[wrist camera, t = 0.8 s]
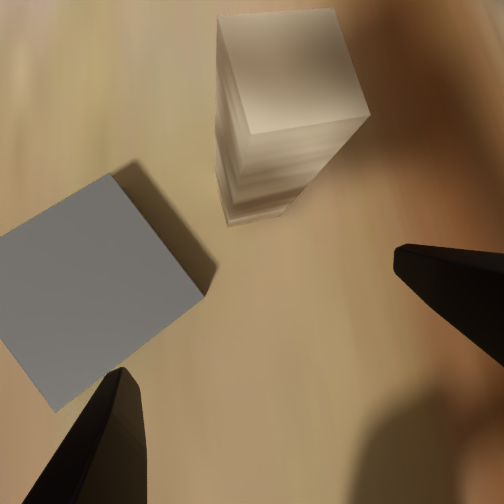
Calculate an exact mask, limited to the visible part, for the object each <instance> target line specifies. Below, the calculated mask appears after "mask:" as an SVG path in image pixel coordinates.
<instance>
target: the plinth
mask: <svg viewBox="0 0 504 504" xmlns="http://www.w3.org/2000/svg"><path fill="white" fill-rule="evenodd" d="M204 297H205V295H204V294H203V293H202V291H201V290H200V289H199V287H198V286H197V285H196V284H195V282H194V281H193V280H192V278H191V277H190V276H189V274H188V273H187V272H186V270H185V269H184V268H183V267H182V265H181V264H180V263H179V261H178V260H177V259H176V257H175V256H174V255H173V254H172V252H171V251H170V250H169V248H168V247H167V246H166V244H165V243H164V242H163V240H162V239H161V238H160V237H159V235H158V234H157V233H156V231H155V230H154V229H153V227H152V226H151V225H150V224H149V222H148V221H147V220H146V218H145V217H144V216H143V214H142V213H141V212H140V210H139V209H138V208H137V207H136V205H135V204H134V203H133V201H132V200H131V199H130V197H129V196H128V195H127V194H126V192H125V191H124V190H123V188H122V187H121V186H120V185H119V184H118V182H117V181H116V180H115V179H114V178H113V177H112V176H111V174H110V173H108V174H106V175H105V176H103V177H101V178H100V179H98V180H96V181H94V182H93V183H91V184H89V185H88V186H86V187H84V188H83V189H81V190H79V191H78V192H76V193H74V194H73V195H71V196H69V197H68V198H66V199H64V200H62V201H61V202H59V203H57V204H56V205H54V206H52V207H51V208H49V209H47V210H46V211H44V212H42V213H41V214H39V215H37V216H35V217H34V218H32V219H30V220H29V221H27V222H25V223H24V224H22V225H20V226H19V227H17V228H15V229H14V230H12V231H10V232H8V233H7V234H5V235H3V236H2V237H0V339H1V340H2V342H3V343H4V344H5V346H6V347H7V348H8V350H9V351H10V352H11V354H12V355H13V356H14V358H15V359H16V360H17V362H18V363H19V365H20V366H21V367H22V369H23V370H24V371H25V373H26V374H27V375H28V377H29V378H30V379H31V381H32V382H33V384H34V385H35V386H36V388H37V389H38V390H39V392H40V393H41V394H42V396H43V397H44V398H45V400H46V401H47V402H48V404H49V405H50V407H51V408H52V409H53V411H54V412H55V413H56V412H57V411H59V410H60V409H61V408H62V407H64V406H65V405H66V404H68V403H69V402H70V401H72V400H73V399H74V398H75V397H77V396H78V395H79V394H81V393H82V392H83V391H84V390H86V389H87V388H88V387H90V386H91V385H92V384H93V383H95V382H96V381H97V380H99V379H100V378H101V377H102V376H104V375H105V374H106V373H108V372H109V371H110V370H111V369H113V368H114V367H115V366H117V365H118V364H119V363H120V362H122V361H123V360H124V359H126V358H127V357H128V356H129V355H131V354H132V353H133V352H135V351H136V350H137V349H138V348H140V347H141V346H142V345H144V344H145V343H146V342H147V341H149V340H150V339H151V338H153V337H154V336H155V335H156V334H158V333H159V332H160V331H162V330H163V329H164V328H165V327H167V326H168V325H169V324H171V323H172V322H173V321H174V320H176V319H177V318H178V317H180V316H181V315H182V314H184V313H185V312H186V311H187V310H189V309H190V308H191V307H193V306H194V305H195V304H196V303H198V302H199V301H200V300H202V299H203V298H204Z"/></svg>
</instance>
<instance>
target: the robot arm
mask: <svg viewBox="0 0 504 504" xmlns="http://www.w3.org/2000/svg"><path fill="white" fill-rule="evenodd" d="M393 269H394V272H395V274H396V275H397V276H398V277H399V278H400V279H401V280H402V281H403V282H404V283H405V284H406V285H407V286H408V287H409V288H411V289H412V290H413V291H414V292H415V293H416V294H417V295H418V296H419V297H420V298H421V299H422V300H423V301H424V302H425V303H426V304H427V305H428V306H429V307H430V308H432V309H433V310H434V311H435V312H436V313H438V314H439V315H440V316H441V317H442V318H444V319H445V320H446V321H447V322H449V323H450V324H451V325H452V326H454V327H455V328H456V329H457V330H459V331H460V332H461V333H462V334H463V335H465V336H466V337H467V338H468V339H470V340H471V341H472V342H473V343H475V344H476V345H477V346H478V347H480V348H481V349H482V350H483V351H484V352H486V353H487V354H488V355H489V356H491V357H492V358H493V359H494V360H496V361H497V362H498V363H499V364H500V365H502V366H503V367H504V254H503V253H493V252H484V251H474V250H465V249H455V248H446V247H436V246H427V245H417V244H404V245H402V246H399V247H397V248H396V249H395V251H394V262H393ZM22 504H147V448H146V437H145V428H144V420H143V411H142V402H141V393H140V388H139V386H138V384H137V382H136V381H135V380H134V378H133V377H132V376H131V374H130V373H129V371H128V370H127V369H126V368H125V367H120V368H118V369H115V370H113V371H111V372H109V373H107V374H106V376H105V377H104V379H103V380H102V382H101V383H100V385H99V386H98V388H97V389H96V391H95V392H94V394H93V395H92V397H91V398H90V400H89V401H88V403H87V405H86V406H85V408H84V409H83V411H82V412H81V414H80V415H79V417H78V418H77V420H76V421H75V423H74V424H73V426H72V427H71V429H70V431H69V432H68V434H67V435H66V437H65V438H64V440H63V441H62V443H61V444H60V446H59V447H58V449H57V450H56V452H55V453H54V455H53V457H52V458H51V460H50V461H49V463H48V464H47V466H46V467H45V469H44V470H43V472H42V473H41V475H40V476H39V478H38V479H37V481H36V483H35V484H34V486H33V487H32V489H31V490H30V492H29V493H28V495H27V496H26V498H25V499H24V501H23V502H22Z"/></svg>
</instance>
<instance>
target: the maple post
mask: <svg viewBox="0 0 504 504" xmlns="http://www.w3.org/2000/svg"><path fill="white" fill-rule="evenodd" d="M369 116H370V112H369V109H368V106H367V103H366V100H365V97H364V95H363V92H362V89H361V86H360V83H359V80H358V77H357V74H356V71H355V68H354V65H353V62H352V60H351V57H350V54H349V51H348V48H347V45H346V42H345V39H344V36H343V33H342V30H341V27H340V25H339V22H338V19H337V16H336V13H335V10H334V8H320V9H305V10H291V11H277V12H262V13H248V14H233V15H219V16H217V47H216V103H215V159H214V178H215V182H216V185H217V189H218V193H219V197H220V200H221V204H222V208H223V212H224V216H225V219H226V223H227V227H228V228H230V227H234V226H239V225H243V224H247V223H252V222H256V221H260V220H265V219H269V218H274V217H278V216H280V215H281V214H282V213H283V212H284V211H285V209H286V208H287V207H288V206H289V205H290V204H291V203H292V202H293V201H294V199H295V198H296V197H297V196H298V195H299V194H300V193H301V192H302V191H303V189H304V188H305V187H306V186H307V185H308V184H309V183H310V182H311V181H312V180H313V178H314V177H315V176H316V175H317V174H318V173H319V172H320V171H321V170H322V168H323V167H324V166H325V165H326V164H327V163H328V162H329V161H330V160H331V159H332V157H333V156H334V155H335V154H336V153H337V152H338V151H339V150H340V149H341V147H342V146H343V145H344V144H345V143H346V142H347V141H348V140H349V139H350V137H351V136H352V135H353V134H354V133H355V132H356V131H357V130H358V129H359V128H360V126H361V125H362V124H363V123H364V122H365V121H366V120H367V119H368V118H369Z"/></svg>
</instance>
